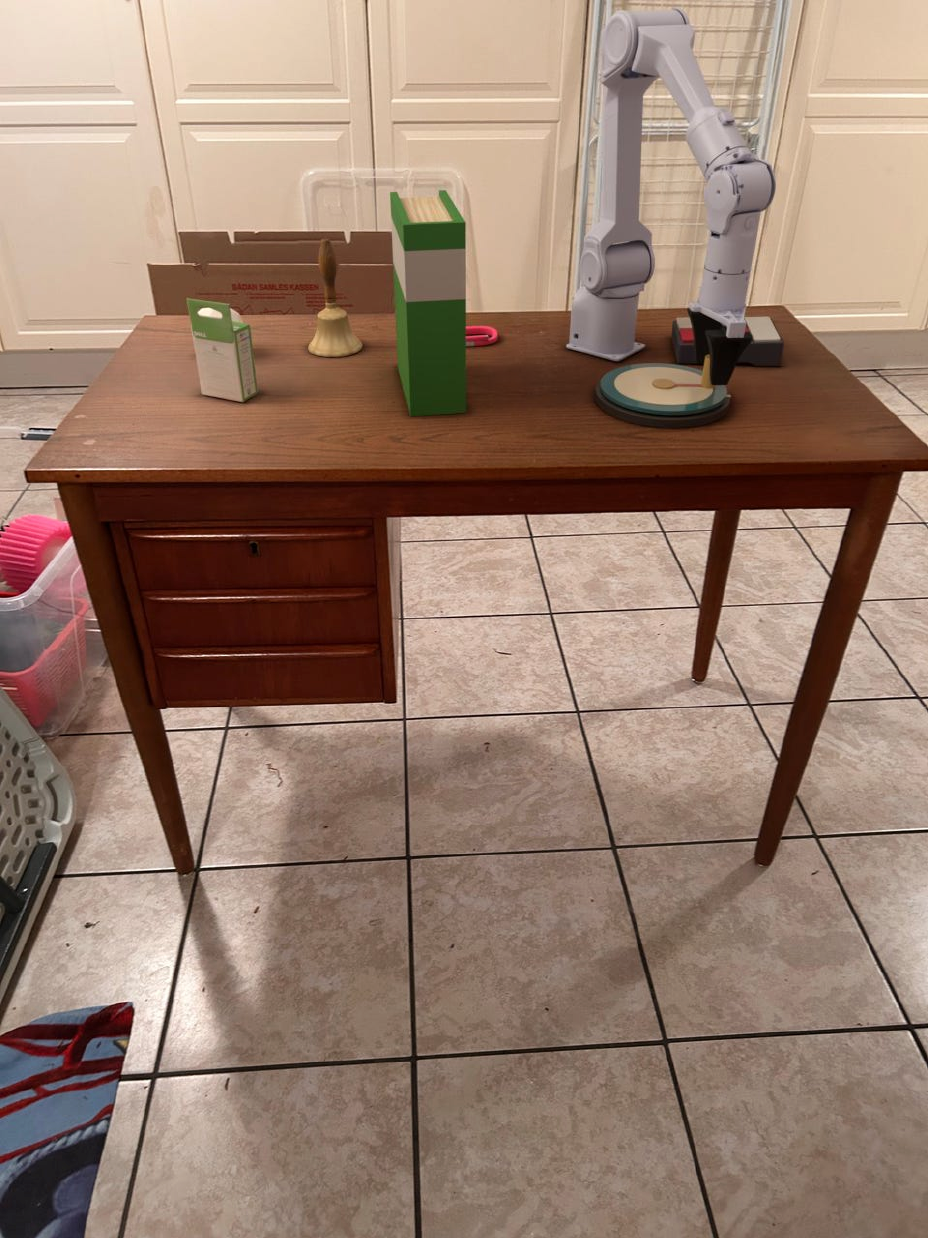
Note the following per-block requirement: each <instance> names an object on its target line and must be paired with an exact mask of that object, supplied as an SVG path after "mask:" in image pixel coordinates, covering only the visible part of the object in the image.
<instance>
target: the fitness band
mask: <svg viewBox="0 0 928 1238" xmlns="http://www.w3.org/2000/svg"><path fill="white" fill-rule="evenodd" d="M489 336H490V337H489ZM498 339H499V335H498V331H497V329H496V328H494V327H492V326H488V325H471V326H466V348H468V347H481V346H488V345H492V344H495V343H496V342H497V341H498Z"/></svg>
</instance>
